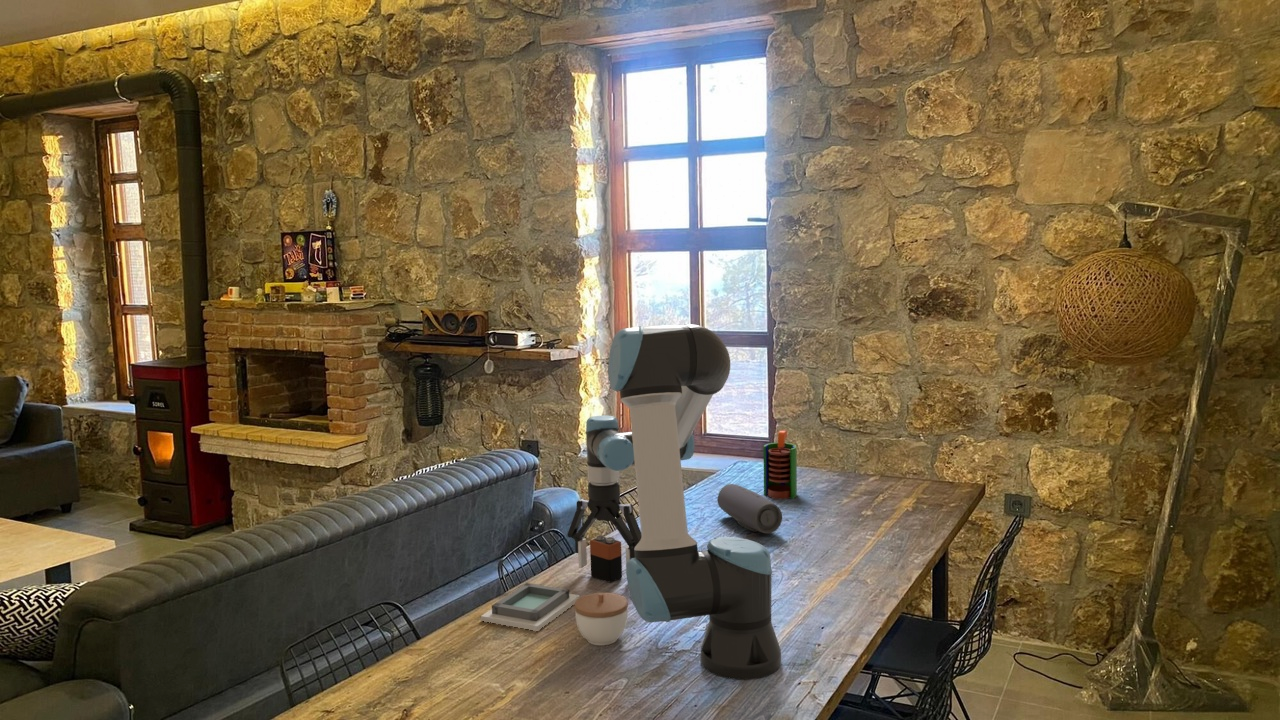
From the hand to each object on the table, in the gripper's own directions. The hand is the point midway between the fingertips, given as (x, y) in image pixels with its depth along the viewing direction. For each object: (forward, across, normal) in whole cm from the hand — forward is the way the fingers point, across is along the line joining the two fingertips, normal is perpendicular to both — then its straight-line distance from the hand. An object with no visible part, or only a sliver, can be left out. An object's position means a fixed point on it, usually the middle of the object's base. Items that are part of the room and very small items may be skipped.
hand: (606, 569), depth 218 cm
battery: (+2, 0, 0) cm, 2 cm away
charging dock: (+2, +6, +24) cm, 25 cm away
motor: (+2, -18, -84) cm, 86 cm away
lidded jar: (+2, -15, +31) cm, 35 cm away
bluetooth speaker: (+2, -19, -50) cm, 54 cm away
